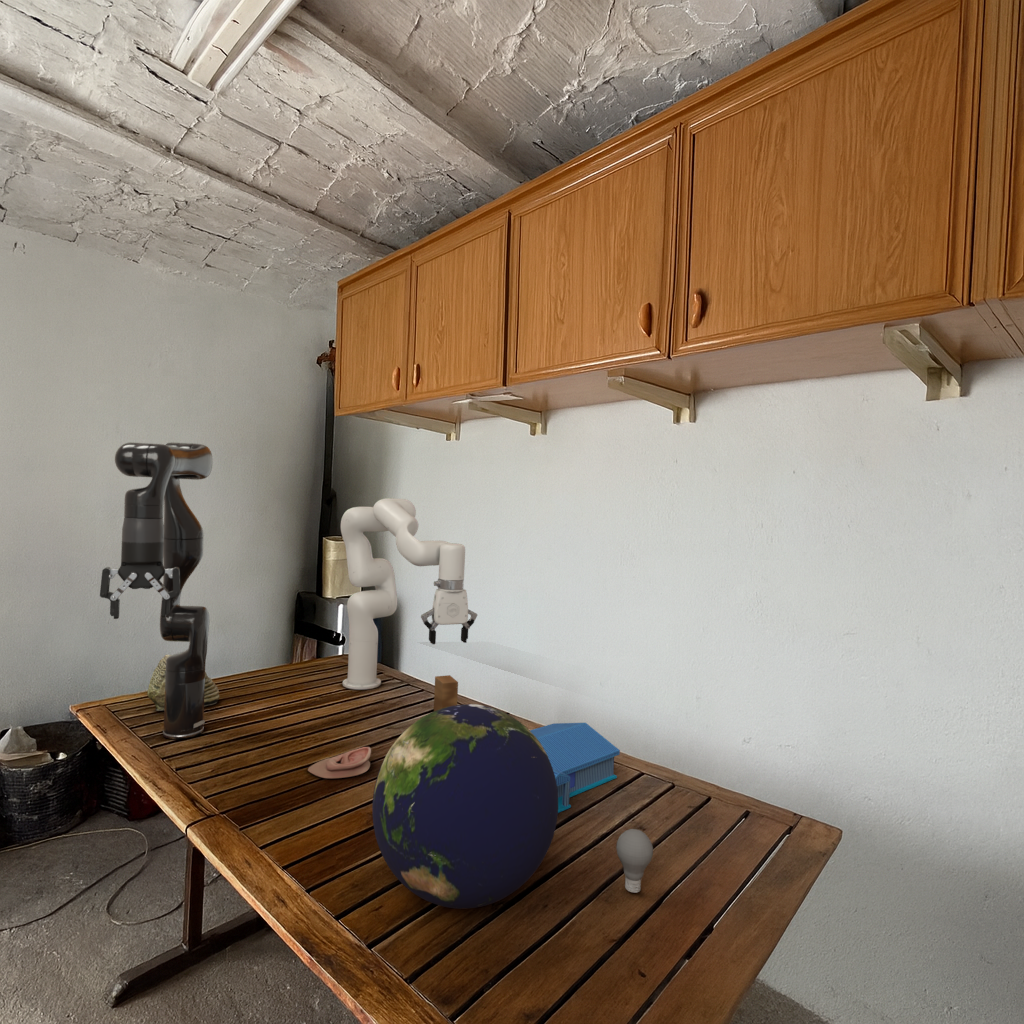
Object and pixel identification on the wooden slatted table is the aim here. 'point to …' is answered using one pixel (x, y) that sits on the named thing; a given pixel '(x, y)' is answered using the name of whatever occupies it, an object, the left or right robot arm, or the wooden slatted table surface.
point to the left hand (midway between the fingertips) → (140, 617)
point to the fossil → (158, 687)
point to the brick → (445, 692)
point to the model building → (576, 758)
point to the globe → (465, 806)
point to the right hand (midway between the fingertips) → (448, 642)
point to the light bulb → (634, 857)
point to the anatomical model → (343, 764)
